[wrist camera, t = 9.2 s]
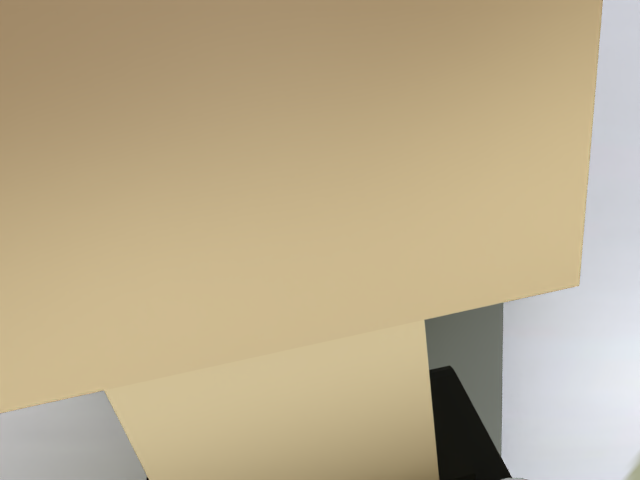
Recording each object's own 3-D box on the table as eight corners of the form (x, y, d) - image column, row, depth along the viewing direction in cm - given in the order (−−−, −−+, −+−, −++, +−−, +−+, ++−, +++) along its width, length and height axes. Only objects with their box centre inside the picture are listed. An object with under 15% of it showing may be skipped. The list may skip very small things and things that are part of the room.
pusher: (433, 410, 14) (547, 668, 9) (211, 461, 14) (185, 757, 8) (365, -332, 7) (713, -1352, 2) (-78, -255, 7) (-1239, -1155, 2)
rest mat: (494, 525, 23) (500, 538, 22) (221, 589, 23) (221, 604, 22) (495, 99, 13) (505, 104, 13) (25, 195, 13) (15, 204, 13)
